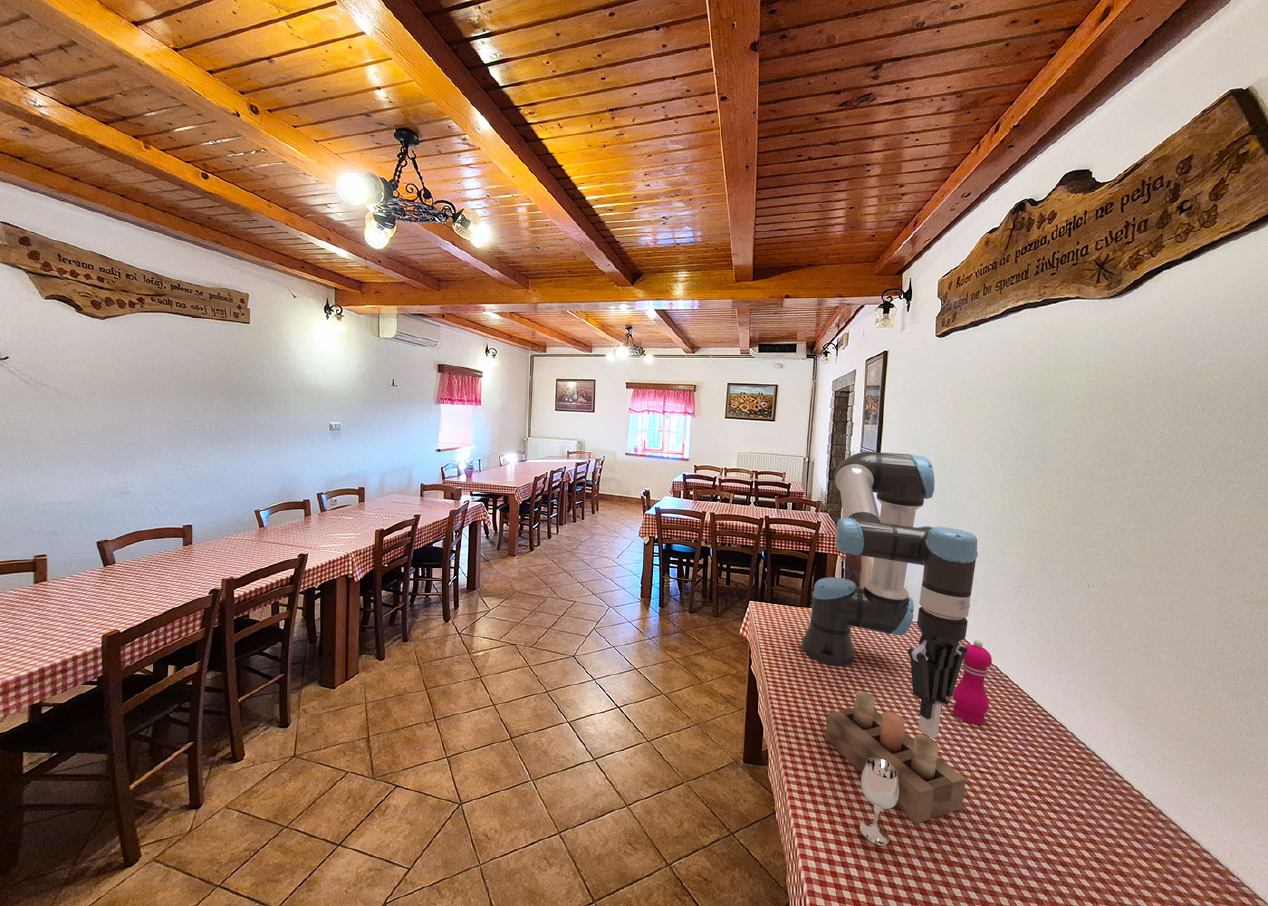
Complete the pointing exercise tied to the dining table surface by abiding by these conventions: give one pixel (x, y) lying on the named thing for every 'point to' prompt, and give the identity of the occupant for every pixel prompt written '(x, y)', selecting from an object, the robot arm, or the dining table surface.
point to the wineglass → (879, 795)
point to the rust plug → (892, 731)
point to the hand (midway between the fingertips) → (927, 732)
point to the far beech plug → (864, 710)
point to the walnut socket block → (897, 767)
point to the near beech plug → (924, 756)
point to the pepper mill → (973, 685)
